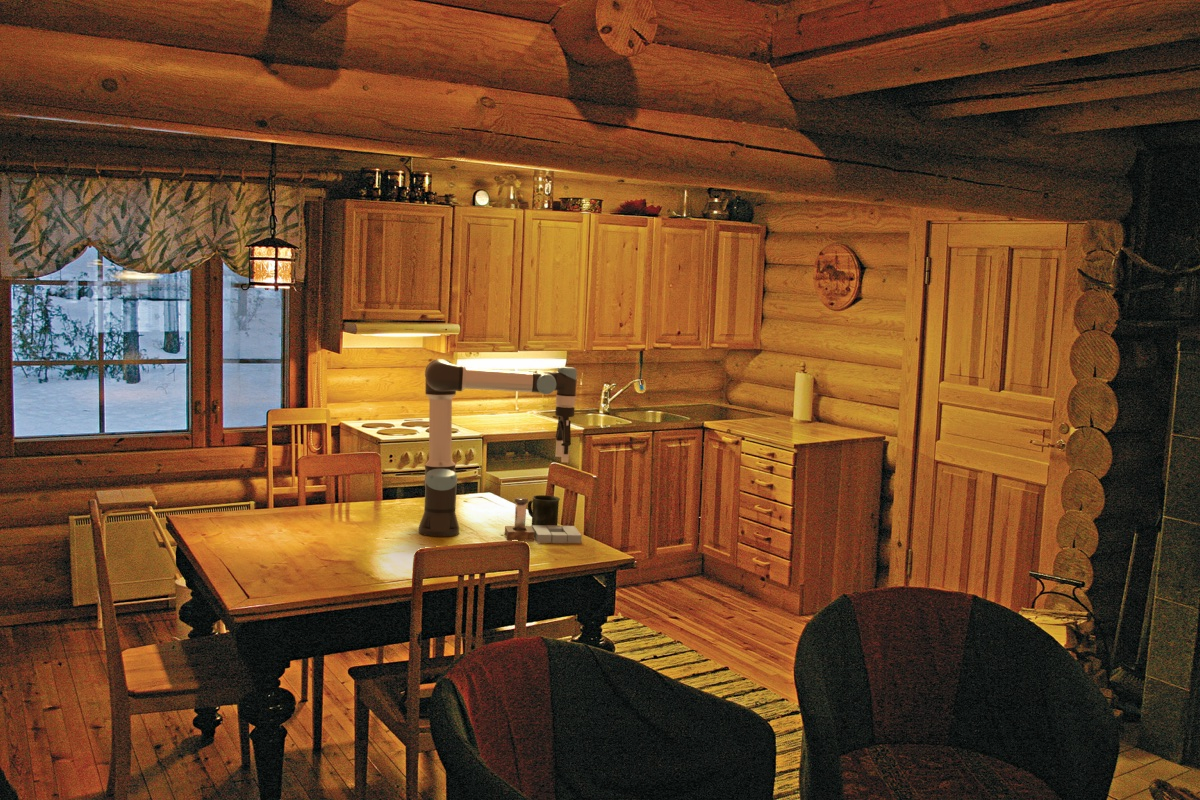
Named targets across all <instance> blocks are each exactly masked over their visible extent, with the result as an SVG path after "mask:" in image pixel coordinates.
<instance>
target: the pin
mask: <svg viewBox="0 0 1200 800" xmlns="http://www.w3.org/2000/svg"><path fill="white" fill-rule="evenodd" d="M528 502H529V499H528V498H526V497H515V498H514V503H515V512H514V513H515V514H514V526H515V527H514V530H518V531H525V526H526V520H527V519H526V517H527V504H528Z"/></svg>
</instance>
